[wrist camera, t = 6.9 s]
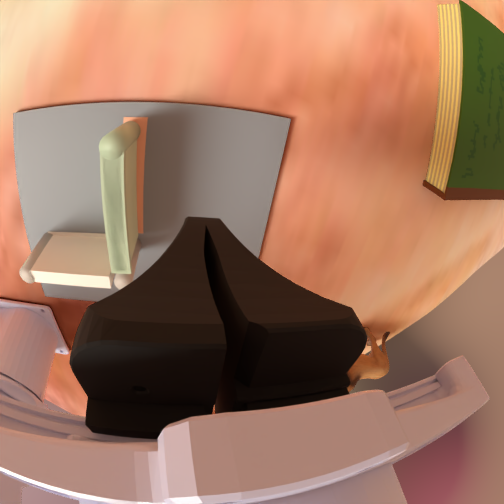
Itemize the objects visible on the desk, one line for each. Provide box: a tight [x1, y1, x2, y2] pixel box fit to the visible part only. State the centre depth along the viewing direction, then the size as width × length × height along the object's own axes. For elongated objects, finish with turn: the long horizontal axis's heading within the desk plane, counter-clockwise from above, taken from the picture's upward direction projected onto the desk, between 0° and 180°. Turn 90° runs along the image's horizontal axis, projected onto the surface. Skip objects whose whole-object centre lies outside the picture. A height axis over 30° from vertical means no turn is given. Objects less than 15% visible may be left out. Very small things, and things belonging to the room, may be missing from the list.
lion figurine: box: [347, 328, 390, 392], centre depth 30 cm, size 15×5×9 cm, turn 88°
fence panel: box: [99, 121, 141, 274], centre depth 15 cm, size 8×1×4 cm, turn 170°
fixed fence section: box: [20, 232, 141, 289], centre depth 17 cm, size 9×1×5 cm, turn 79°
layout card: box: [13, 102, 291, 302], centre depth 19 cm, size 20×17×1 cm
